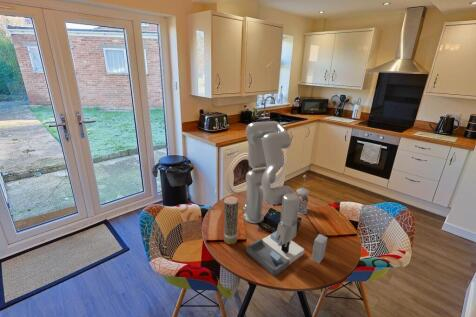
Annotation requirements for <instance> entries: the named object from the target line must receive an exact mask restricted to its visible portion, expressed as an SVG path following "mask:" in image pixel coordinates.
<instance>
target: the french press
mask: <svg viewBox="0 0 476 317" xmlns="http://www.w3.org/2000/svg"><path fill="white" fill-rule="evenodd" d="M302 177H303V178H304V180H303V182H305V181H306V180H305V179H306V178H307V175H305V174H304V175H303V176H302ZM295 194H296V195H298V196H299V198H300V203H299V210H298V215H306V214H308V213H309V210H308V204H309V198H308V195H309V194H310V190H308V189H306V188H305V185H303V187H300V188H297V189H296V192H295ZM307 210H308V211H307ZM307 212H308V213H307Z"/></svg>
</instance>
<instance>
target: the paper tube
mask: <svg viewBox="0 0 476 317" xmlns="http://www.w3.org/2000/svg"><path fill="white" fill-rule="evenodd" d="M223 200H224V202H223V203H224V204H223V205H224V207H223V208H224V209H223V210H224V211H223V213H224V214H223V218H224V220H223V222H224V223H223V232H224V233H223V241H224V243H226V245H234V244H236V243H237V242H238V218H239V217H238V215H239V214H238V213H239V198H238V197H236V196H232V195H231V196H227V197H225V198H224V199H223Z"/></svg>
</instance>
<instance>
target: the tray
mask: <svg viewBox="0 0 476 317" xmlns="http://www.w3.org/2000/svg"><path fill="white" fill-rule="evenodd" d="M262 239H263V238H259V239H257V240H255V241H254V242H252V243H251V244H248V245H247V246H246V247H245V248H246V249H245V250H246V254H248V255H249V256H250V257H251V258H252V259H253V260H254V261H256V262H257V263H258V264H259V265H260V266H261V267H262V268H263V269H265V270H266V271H267V272H268V273H269V274H270V275H272V276H273V277H276V276H277V275H279V274H280V273H281V272H283V271H284V270H285V269H287V268H288V267H289V266H290V264H289V261H290V260H289V259H287V260H286V261H283V260H282V261H283V263H282V264H280V265H278V264H276V263H275V262H274V261H273V260H272V259H271V257H270V253H271V251H270V250H269V249H268V248H266V247H265V246H264V245H262Z"/></svg>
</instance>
